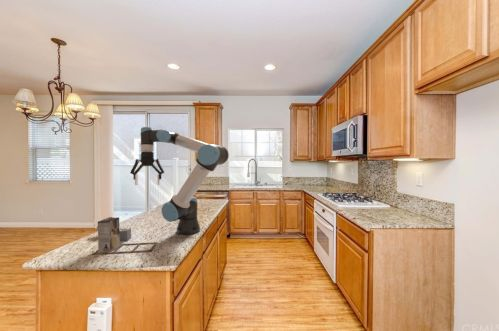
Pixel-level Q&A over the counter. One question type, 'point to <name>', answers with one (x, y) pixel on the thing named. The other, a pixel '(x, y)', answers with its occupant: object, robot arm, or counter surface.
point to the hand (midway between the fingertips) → (147, 184)
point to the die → (125, 234)
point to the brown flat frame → (128, 251)
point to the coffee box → (108, 235)
